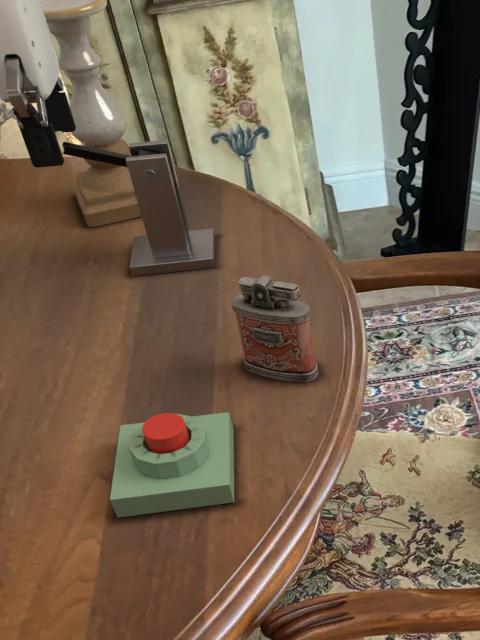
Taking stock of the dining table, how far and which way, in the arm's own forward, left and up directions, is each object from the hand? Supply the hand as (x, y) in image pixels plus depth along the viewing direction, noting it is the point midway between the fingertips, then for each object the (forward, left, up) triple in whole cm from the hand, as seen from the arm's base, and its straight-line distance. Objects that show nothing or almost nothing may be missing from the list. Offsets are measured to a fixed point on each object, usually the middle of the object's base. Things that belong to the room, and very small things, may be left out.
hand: (56, 147), depth 87 cm
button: (+12, -41, -10) cm, 44 cm away
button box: (+12, -41, -14) cm, 45 cm away
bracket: (+10, 0, -14) cm, 17 cm away
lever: (+5, 0, -3) cm, 5 cm away
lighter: (+22, -27, -14) cm, 37 cm away
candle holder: (+2, +17, -14) cm, 22 cm away
